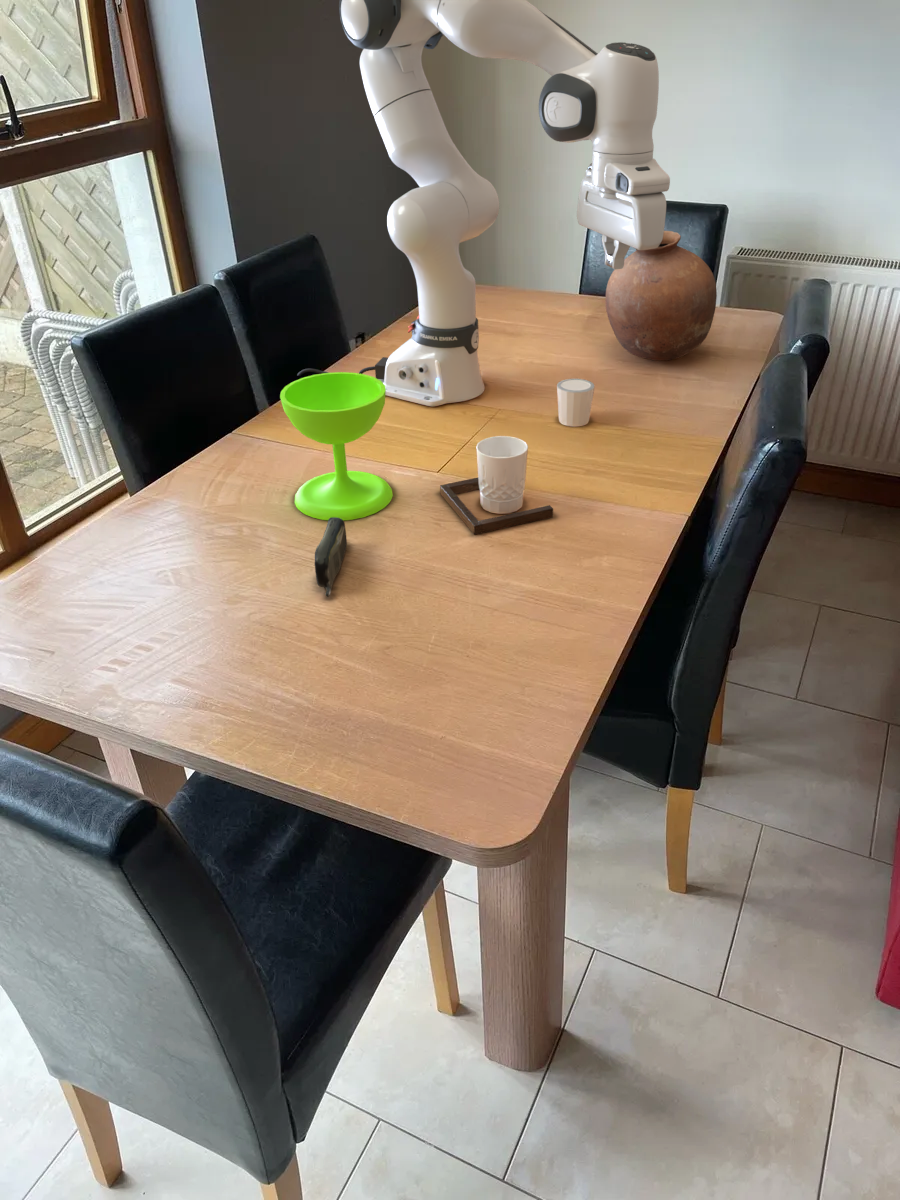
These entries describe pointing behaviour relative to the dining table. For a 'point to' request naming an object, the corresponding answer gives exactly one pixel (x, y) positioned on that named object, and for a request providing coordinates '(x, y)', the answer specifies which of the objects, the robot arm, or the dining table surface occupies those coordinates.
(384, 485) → the wineglass
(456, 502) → the walnut frame
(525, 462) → the white cup
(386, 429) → the dining table surface
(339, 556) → the mobile phone
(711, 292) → the pottery
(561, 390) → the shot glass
